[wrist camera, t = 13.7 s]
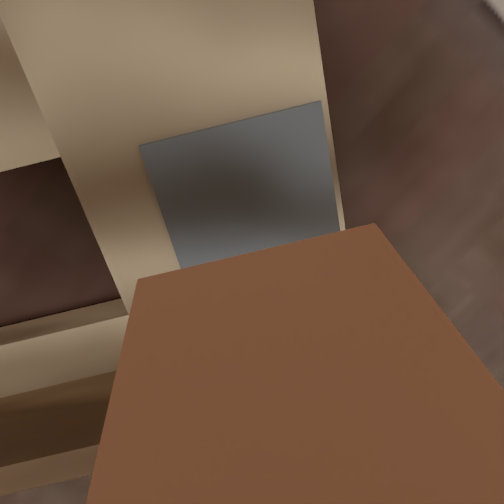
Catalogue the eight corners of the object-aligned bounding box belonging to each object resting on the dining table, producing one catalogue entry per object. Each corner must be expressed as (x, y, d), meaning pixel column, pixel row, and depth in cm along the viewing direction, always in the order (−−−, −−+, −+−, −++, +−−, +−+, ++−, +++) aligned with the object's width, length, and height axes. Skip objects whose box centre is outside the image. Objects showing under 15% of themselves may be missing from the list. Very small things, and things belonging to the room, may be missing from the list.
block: (392, 397, 12) (539, 704, 7) (201, 441, 12) (200, 776, 7) (374, 223, 10) (578, 486, 4) (137, 279, 10) (63, 601, 5)
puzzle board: (352, 324, 23) (392, 410, 18) (-22, 413, 24) (-79, 519, 19) (284, -131, 15) (325, -195, 10) (-300, 20, 15) (-535, 31, 10)
